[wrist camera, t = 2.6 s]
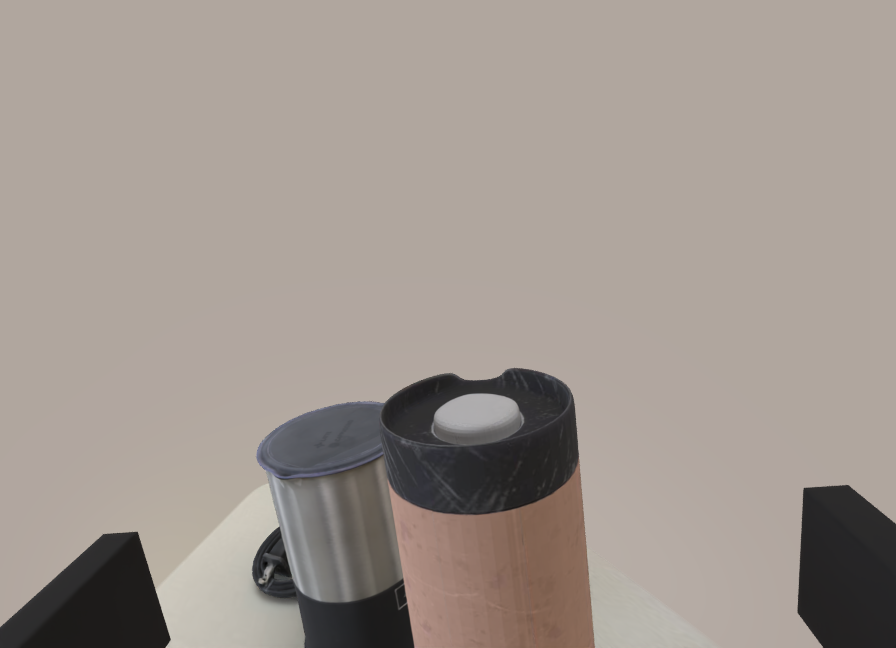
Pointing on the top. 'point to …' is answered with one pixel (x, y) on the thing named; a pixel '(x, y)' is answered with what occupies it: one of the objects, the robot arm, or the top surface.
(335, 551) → the milk frother
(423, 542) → the travel mug
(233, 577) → the top surface
